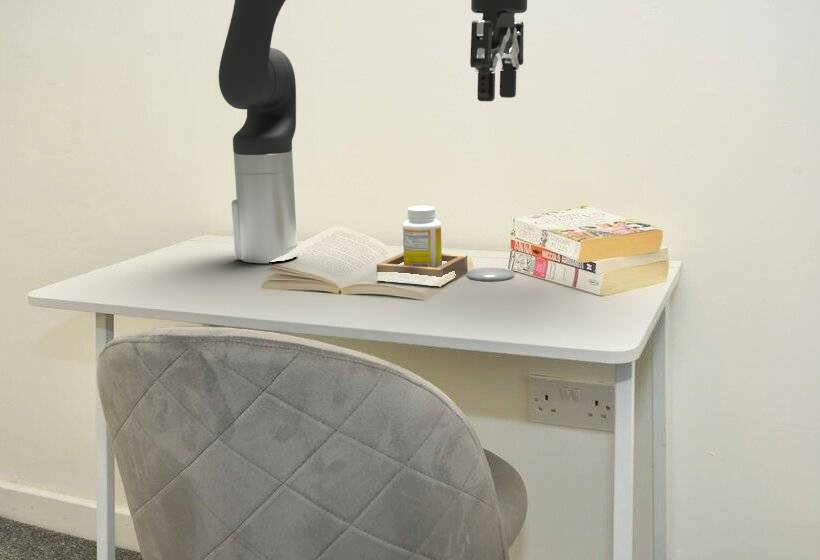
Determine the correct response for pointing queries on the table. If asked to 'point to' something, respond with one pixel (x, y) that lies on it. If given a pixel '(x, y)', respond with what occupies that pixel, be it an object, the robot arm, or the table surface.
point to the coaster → (490, 274)
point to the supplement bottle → (422, 238)
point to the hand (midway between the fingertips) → (497, 99)
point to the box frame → (453, 264)
